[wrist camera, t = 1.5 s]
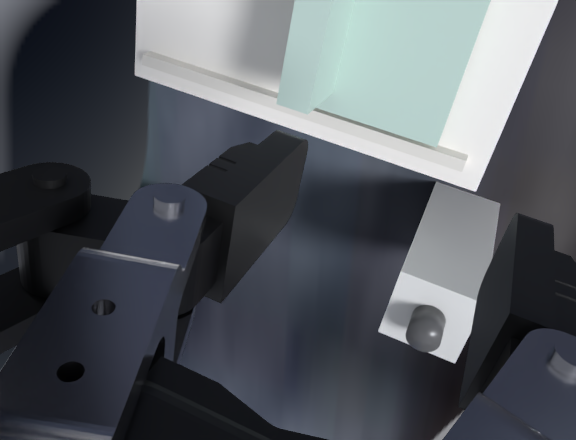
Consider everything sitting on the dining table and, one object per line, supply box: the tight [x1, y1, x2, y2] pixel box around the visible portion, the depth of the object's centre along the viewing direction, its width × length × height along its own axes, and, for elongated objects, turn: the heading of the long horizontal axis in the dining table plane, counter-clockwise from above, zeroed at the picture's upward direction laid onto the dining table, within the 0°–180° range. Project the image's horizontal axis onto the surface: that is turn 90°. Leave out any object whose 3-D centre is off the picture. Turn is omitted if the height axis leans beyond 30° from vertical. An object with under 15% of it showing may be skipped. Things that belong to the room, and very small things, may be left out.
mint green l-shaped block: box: [276, 0, 491, 147], centre depth 23 cm, size 7×8×4 cm
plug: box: [378, 182, 500, 364], centre depth 30 cm, size 4×4×12 cm
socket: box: [135, 0, 558, 192], centre depth 28 cm, size 20×12×7 cm, turn 79°
